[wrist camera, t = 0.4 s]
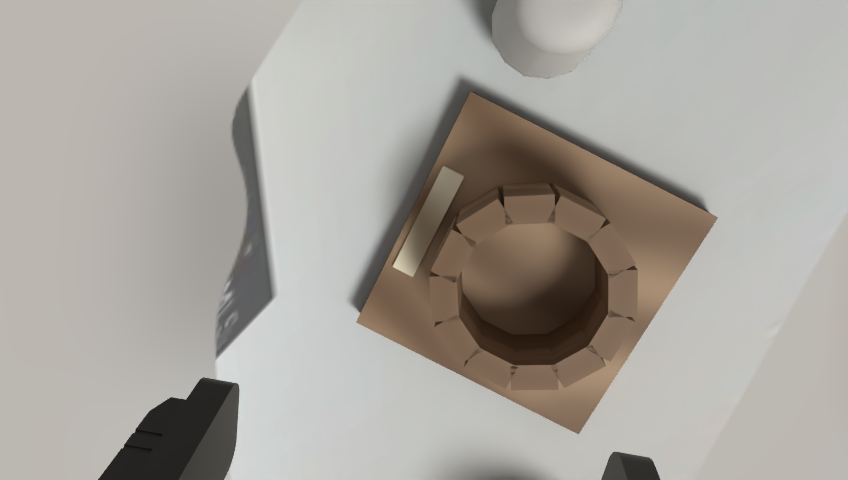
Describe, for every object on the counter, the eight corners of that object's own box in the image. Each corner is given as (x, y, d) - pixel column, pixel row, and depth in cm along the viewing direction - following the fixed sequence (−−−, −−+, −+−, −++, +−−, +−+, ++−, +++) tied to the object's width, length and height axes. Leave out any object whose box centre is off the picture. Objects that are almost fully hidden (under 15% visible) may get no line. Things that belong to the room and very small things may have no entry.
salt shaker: (483, 71, 37) (479, 62, 24) (500, -33, 35) (504, -99, 23) (582, 85, 36) (630, 83, 24) (603, -19, 35) (665, -79, 22)
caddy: (471, 91, 37) (467, 92, 31) (709, 212, 37) (748, 235, 32) (360, 314, 41) (339, 350, 35) (575, 422, 41) (588, 476, 36)
